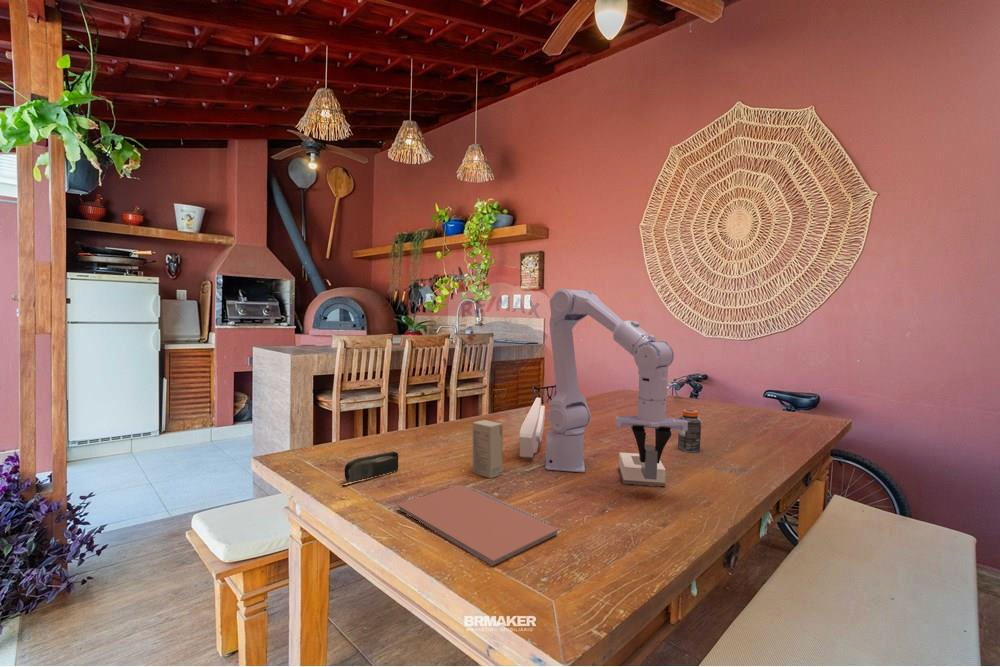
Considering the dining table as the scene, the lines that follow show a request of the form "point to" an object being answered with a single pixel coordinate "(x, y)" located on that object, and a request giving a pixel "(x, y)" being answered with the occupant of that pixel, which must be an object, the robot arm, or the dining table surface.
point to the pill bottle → (690, 432)
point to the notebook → (479, 522)
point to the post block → (638, 471)
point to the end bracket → (650, 462)
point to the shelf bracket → (532, 430)
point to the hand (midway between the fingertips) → (649, 461)
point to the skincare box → (487, 448)
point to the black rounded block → (371, 466)
